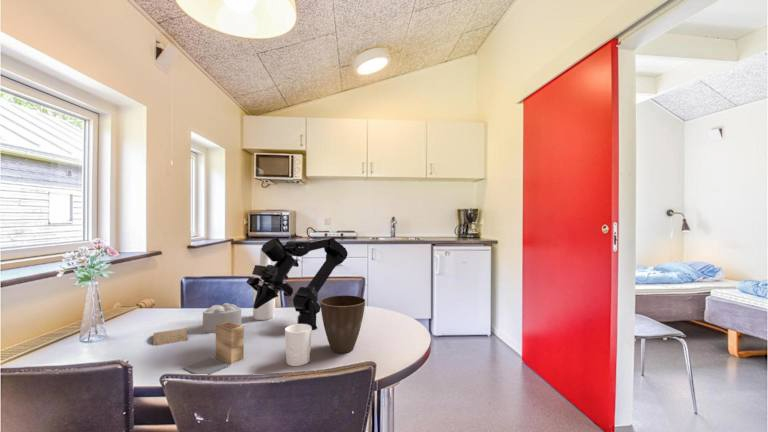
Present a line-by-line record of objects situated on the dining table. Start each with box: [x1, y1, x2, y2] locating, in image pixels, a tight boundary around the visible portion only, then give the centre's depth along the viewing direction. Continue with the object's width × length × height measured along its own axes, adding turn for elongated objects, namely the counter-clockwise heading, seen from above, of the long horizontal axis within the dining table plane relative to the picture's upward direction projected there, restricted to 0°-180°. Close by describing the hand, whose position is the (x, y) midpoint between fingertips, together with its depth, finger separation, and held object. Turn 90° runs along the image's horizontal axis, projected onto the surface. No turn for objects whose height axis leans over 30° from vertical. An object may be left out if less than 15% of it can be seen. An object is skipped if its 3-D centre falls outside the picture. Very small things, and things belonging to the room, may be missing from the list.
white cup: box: [284, 323, 313, 367], centre depth 96 cm, size 8×8×10 cm
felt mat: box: [182, 356, 231, 375], centre depth 91 cm, size 8×10×1 cm
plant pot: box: [319, 294, 366, 354], centre depth 105 cm, size 15×15×16 cm
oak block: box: [215, 322, 245, 365], centre depth 97 cm, size 4×8×10 cm, turn 59°
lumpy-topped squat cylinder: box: [202, 302, 242, 333], centre depth 125 cm, size 10×13×9 cm
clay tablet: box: [152, 327, 189, 347], centre depth 114 cm, size 14×10×3 cm
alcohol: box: [252, 247, 276, 321], centre depth 138 cm, size 9×9×30 cm
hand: (254, 308), depth 105 cm, fingers closed
